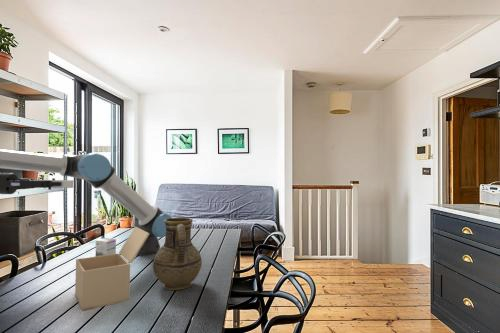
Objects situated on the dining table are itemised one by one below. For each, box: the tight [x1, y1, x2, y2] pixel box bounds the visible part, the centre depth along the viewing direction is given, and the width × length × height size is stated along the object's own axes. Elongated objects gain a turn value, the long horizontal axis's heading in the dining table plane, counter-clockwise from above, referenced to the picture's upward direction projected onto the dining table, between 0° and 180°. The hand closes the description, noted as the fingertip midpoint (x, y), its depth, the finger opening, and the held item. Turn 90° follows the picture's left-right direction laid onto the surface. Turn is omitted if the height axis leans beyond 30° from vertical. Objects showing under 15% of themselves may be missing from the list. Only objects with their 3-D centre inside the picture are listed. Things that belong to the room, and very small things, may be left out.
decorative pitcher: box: [152, 217, 203, 291], centre depth 117 cm, size 22×18×25 cm
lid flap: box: [118, 227, 149, 264], centre depth 112 cm, size 15×11×1 cm
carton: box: [74, 253, 131, 312], centre depth 106 cm, size 16×14×12 cm
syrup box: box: [95, 237, 117, 257], centre depth 130 cm, size 6×6×14 cm
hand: (72, 184), depth 113 cm, fingers closed
